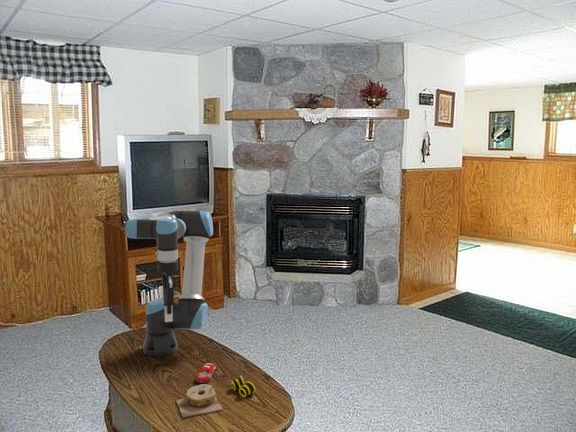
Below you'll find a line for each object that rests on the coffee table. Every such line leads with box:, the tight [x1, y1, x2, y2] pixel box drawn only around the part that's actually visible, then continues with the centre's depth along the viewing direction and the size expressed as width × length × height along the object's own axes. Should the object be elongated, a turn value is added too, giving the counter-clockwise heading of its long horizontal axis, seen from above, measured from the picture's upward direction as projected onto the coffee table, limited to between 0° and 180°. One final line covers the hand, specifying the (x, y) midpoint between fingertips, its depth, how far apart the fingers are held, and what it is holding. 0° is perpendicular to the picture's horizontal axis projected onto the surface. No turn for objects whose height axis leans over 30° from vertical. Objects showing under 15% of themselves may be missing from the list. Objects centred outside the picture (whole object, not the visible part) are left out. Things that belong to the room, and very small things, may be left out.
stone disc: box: [185, 383, 217, 407], centre depth 178 cm, size 10×4×10 cm
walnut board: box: [175, 395, 224, 419], centre depth 175 cm, size 12×14×1 cm
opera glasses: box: [230, 375, 256, 398], centre depth 186 cm, size 10×5×5 cm, turn 40°
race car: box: [195, 362, 217, 384], centre depth 197 cm, size 13×5×4 cm, turn 170°
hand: (168, 321), depth 185 cm, fingers closed
